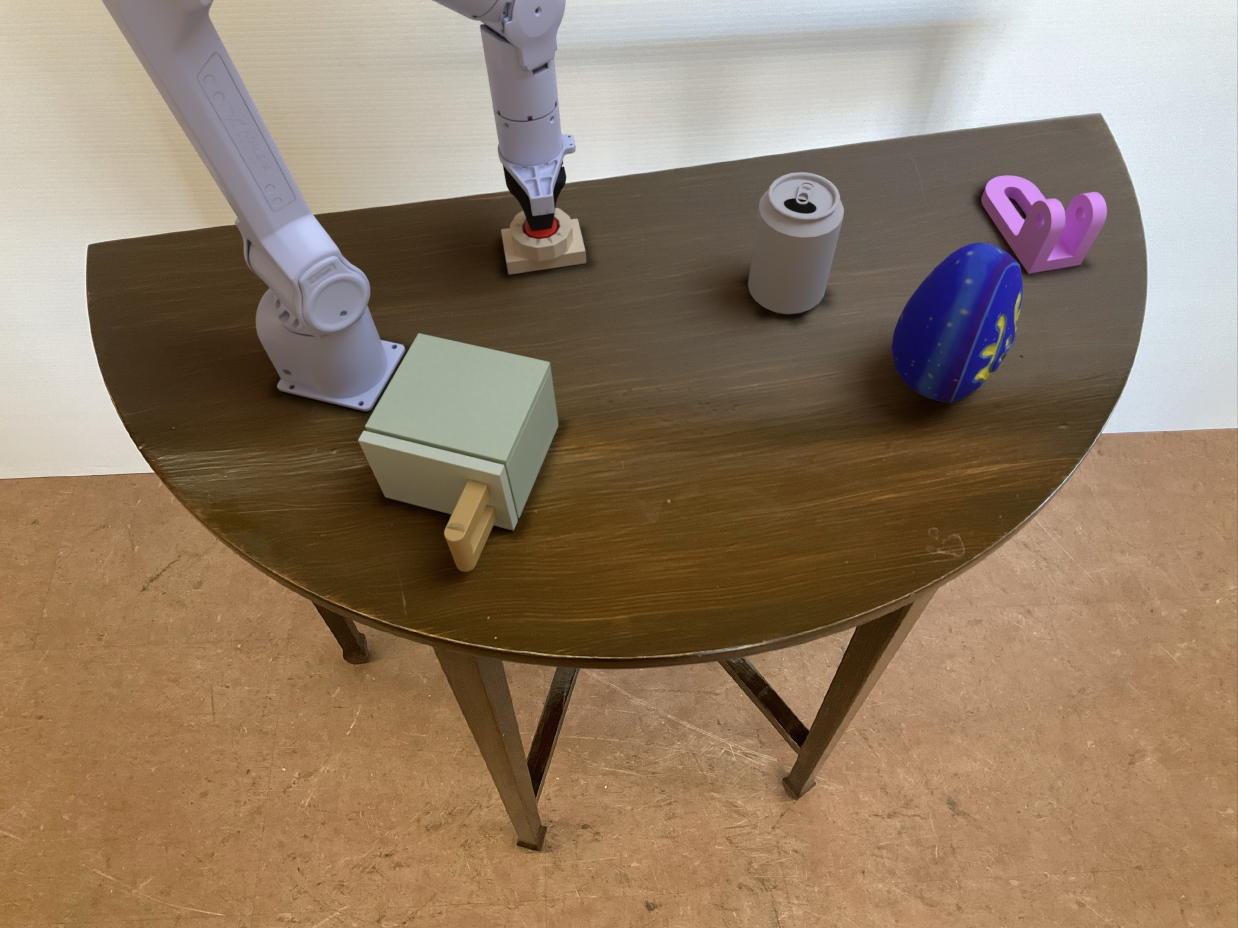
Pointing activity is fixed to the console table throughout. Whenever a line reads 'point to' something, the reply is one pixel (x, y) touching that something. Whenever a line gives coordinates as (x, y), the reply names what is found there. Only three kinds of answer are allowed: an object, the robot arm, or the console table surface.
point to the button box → (543, 245)
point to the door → (445, 490)
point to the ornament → (959, 323)
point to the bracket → (1044, 223)
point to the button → (541, 231)
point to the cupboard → (473, 407)
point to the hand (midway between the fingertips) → (541, 225)
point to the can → (795, 242)
